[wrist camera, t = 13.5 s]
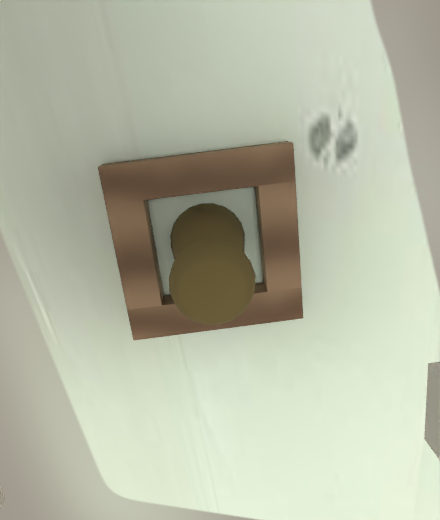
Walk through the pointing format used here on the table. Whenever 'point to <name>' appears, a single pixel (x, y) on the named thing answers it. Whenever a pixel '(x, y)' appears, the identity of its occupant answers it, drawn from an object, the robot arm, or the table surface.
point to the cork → (210, 265)
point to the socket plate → (193, 182)
